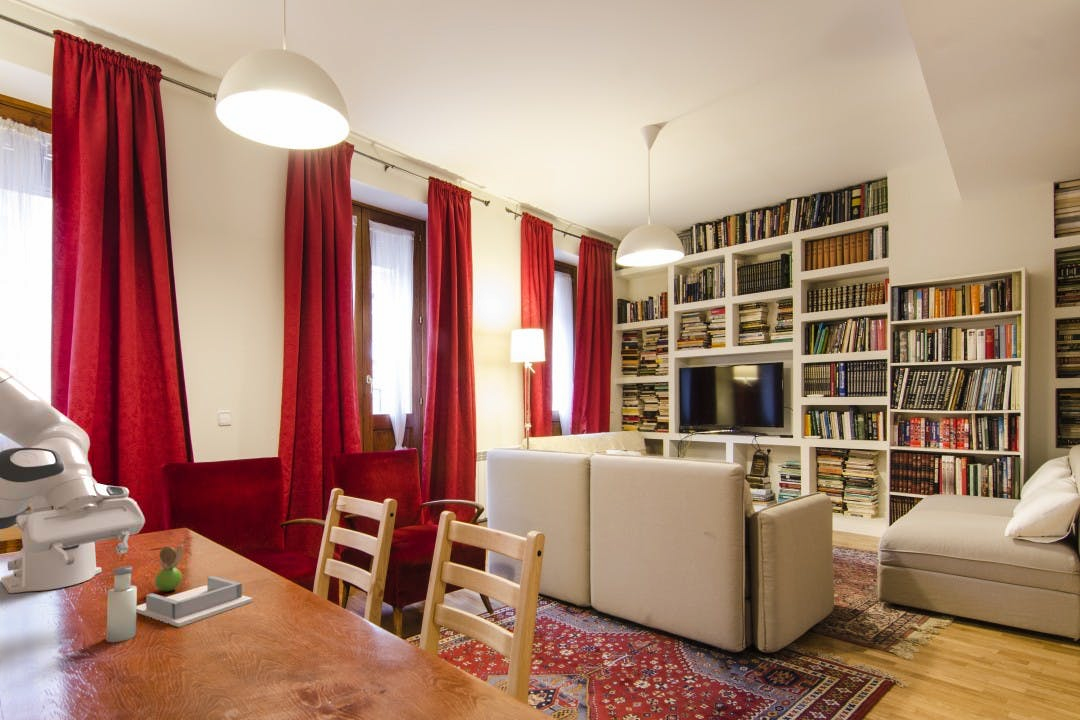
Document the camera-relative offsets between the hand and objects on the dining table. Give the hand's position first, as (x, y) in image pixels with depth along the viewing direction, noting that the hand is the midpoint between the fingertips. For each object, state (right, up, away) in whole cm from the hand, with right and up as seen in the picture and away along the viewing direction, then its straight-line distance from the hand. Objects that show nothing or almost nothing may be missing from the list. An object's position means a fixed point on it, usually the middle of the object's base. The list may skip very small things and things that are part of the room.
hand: (97, 557), depth 118 cm
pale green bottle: (+8, -14, -4) cm, 17 cm away
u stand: (+12, -15, +11) cm, 22 cm away
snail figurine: (+1, -15, +22) cm, 27 cm away
